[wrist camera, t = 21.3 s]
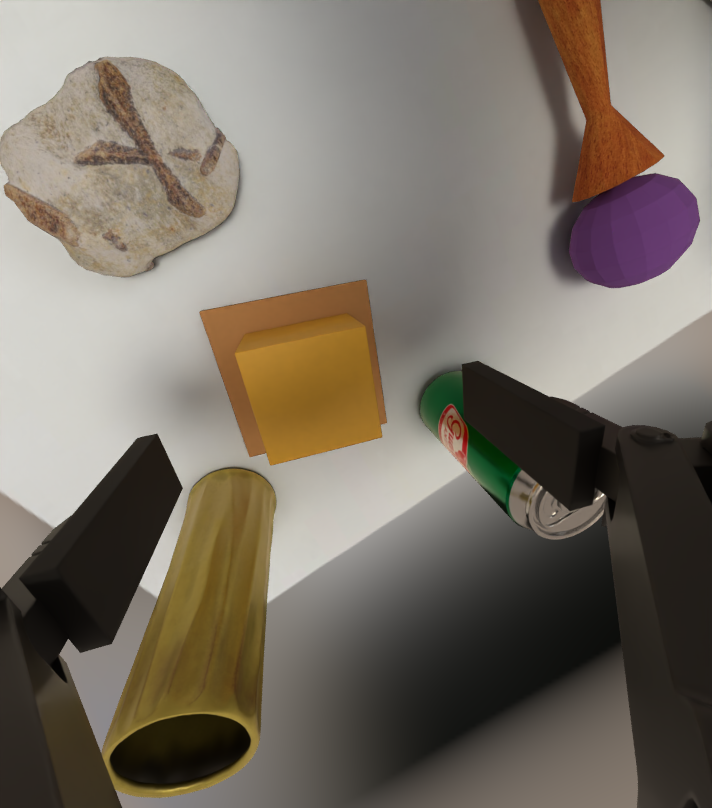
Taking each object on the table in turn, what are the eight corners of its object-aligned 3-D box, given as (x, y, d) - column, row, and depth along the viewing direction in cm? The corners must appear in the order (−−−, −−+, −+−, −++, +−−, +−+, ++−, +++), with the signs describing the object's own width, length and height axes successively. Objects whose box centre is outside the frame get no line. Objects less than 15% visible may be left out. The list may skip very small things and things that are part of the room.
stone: (157, 35, 15) (134, -9, 13) (264, 195, 18) (261, 184, 16) (-4, 167, 16) (-56, 148, 13) (126, 301, 19) (103, 306, 16)
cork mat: (365, 279, 21) (366, 279, 21) (385, 420, 25) (387, 423, 25) (200, 310, 20) (198, 311, 19) (250, 454, 24) (249, 457, 23)
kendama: (662, -290, 12) (732, 244, 19) (529, -95, 18) (621, 263, 24) (542, -238, 11) (662, 301, 18) (442, -49, 17) (563, 308, 24)
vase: (173, 518, 24) (52, 803, 11) (213, 453, 23) (129, 689, 10) (250, 545, 27) (222, 807, 14) (291, 486, 25) (302, 714, 12)
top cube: (347, 312, 21) (365, 325, 17) (362, 404, 24) (382, 437, 19) (244, 333, 20) (234, 353, 16) (272, 426, 23) (270, 466, 18)
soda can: (408, 386, 24) (512, 482, 13) (471, 357, 24) (624, 429, 14) (427, 441, 26) (530, 563, 16) (485, 414, 27) (627, 516, 16)
